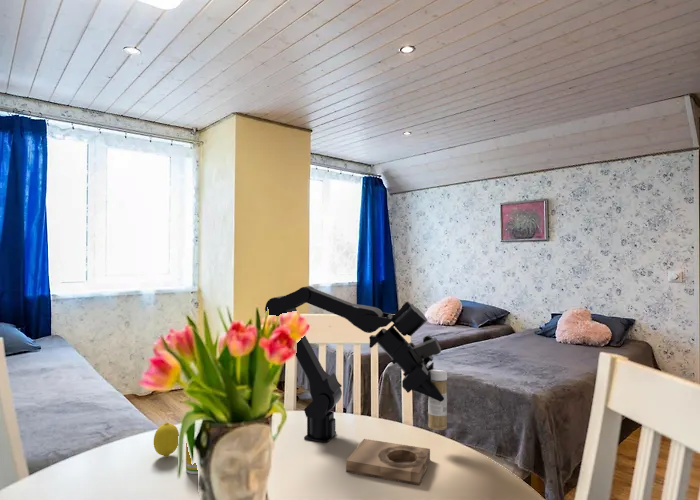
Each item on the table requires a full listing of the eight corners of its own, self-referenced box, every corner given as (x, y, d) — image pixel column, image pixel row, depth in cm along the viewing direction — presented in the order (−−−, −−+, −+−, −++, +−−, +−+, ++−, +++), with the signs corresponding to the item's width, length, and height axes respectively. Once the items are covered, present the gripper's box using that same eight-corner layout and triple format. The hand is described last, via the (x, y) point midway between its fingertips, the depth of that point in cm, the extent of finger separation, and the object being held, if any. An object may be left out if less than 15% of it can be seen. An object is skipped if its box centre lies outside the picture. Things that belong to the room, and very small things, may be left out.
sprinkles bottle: (436, 423, 108) (436, 368, 109) (451, 428, 104) (451, 371, 105) (423, 427, 105) (424, 370, 106) (438, 432, 101) (438, 373, 103)
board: (346, 471, 94) (346, 460, 94) (364, 449, 106) (364, 438, 106) (420, 485, 89) (420, 473, 89) (431, 459, 100) (430, 448, 100)
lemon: (148, 460, 100) (148, 425, 100) (164, 450, 105) (164, 417, 105) (168, 463, 98) (168, 428, 99) (184, 453, 104) (184, 419, 104)
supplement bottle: (203, 476, 93) (204, 430, 93) (180, 473, 94) (181, 428, 94) (216, 464, 98) (216, 420, 98) (194, 462, 99) (194, 419, 99)
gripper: (416, 333, 98) (467, 386, 94) (424, 321, 116) (467, 366, 112) (382, 365, 99) (430, 419, 96) (395, 349, 117) (436, 393, 114)
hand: (443, 397), depth 105 cm, fingers closed on sprinkles bottle, 4 cm apart
